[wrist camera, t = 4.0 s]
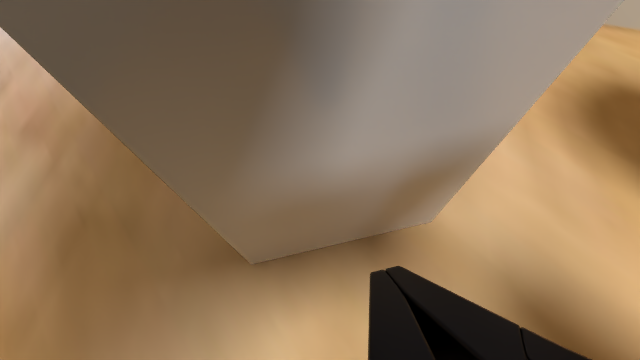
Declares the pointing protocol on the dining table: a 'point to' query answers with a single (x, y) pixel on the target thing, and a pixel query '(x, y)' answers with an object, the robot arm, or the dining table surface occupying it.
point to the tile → (307, 100)
